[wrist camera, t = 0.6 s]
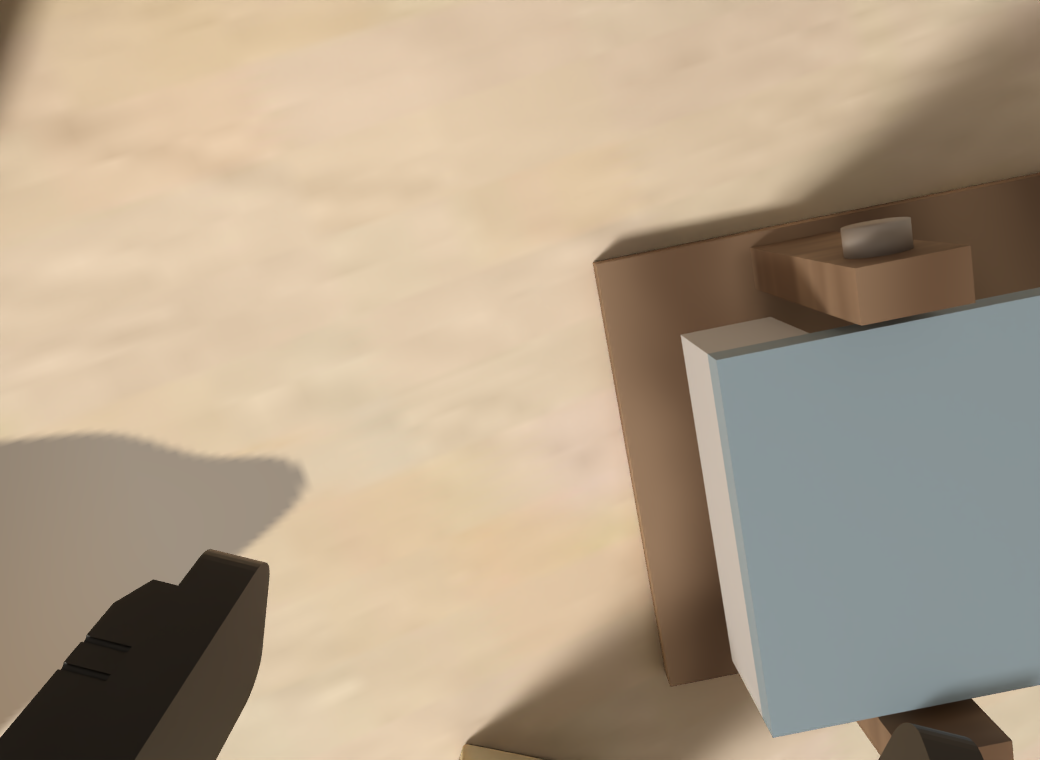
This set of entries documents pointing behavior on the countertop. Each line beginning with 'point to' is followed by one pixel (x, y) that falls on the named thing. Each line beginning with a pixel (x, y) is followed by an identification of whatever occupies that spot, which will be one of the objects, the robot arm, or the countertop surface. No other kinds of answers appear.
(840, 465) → the trapdoor flap
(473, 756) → the skincare box
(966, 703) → the frame
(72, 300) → the countertop surface
